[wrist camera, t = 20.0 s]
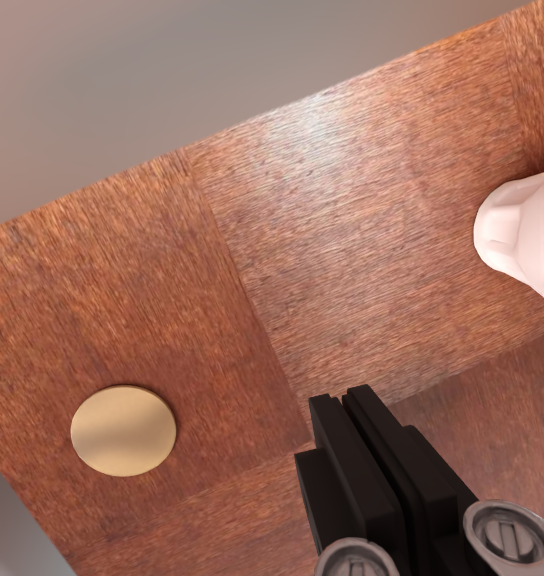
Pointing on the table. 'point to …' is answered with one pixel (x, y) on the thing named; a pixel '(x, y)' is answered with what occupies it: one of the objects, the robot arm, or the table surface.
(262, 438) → the table surface
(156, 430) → the coaster
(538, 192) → the cup
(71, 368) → the table surface
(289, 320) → the table surface
